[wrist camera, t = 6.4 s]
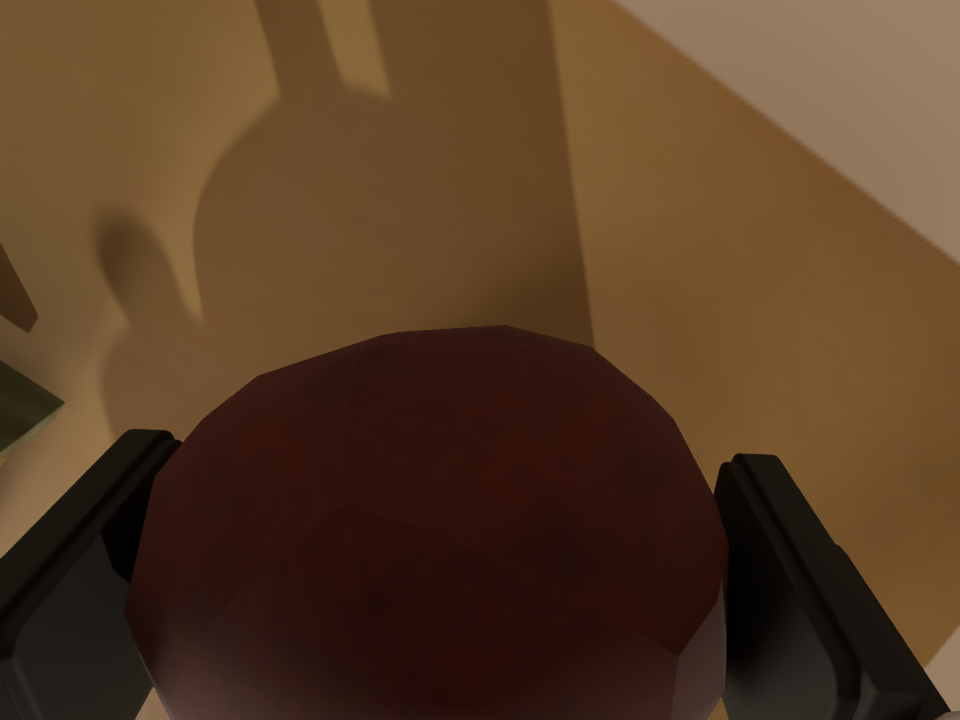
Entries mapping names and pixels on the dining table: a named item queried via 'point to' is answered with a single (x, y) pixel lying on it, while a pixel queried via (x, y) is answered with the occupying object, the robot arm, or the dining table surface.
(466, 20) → the dining table surface
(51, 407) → the drawer
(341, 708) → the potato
